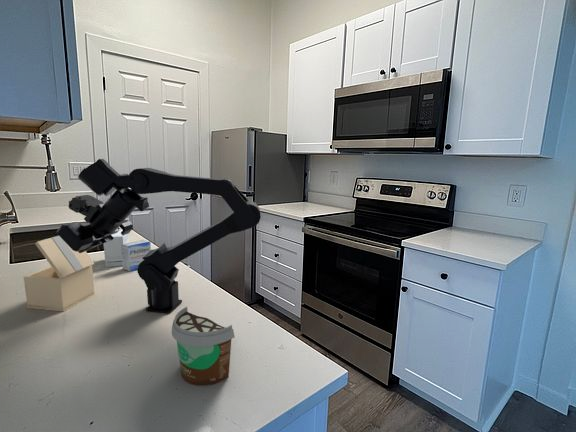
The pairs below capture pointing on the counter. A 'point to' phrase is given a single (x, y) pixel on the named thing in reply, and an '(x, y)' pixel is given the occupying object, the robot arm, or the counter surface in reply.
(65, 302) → the carton
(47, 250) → the carton lid
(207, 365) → the food container
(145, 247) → the medicine box
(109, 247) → the skincare box
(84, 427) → the counter surface
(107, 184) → the robot arm
